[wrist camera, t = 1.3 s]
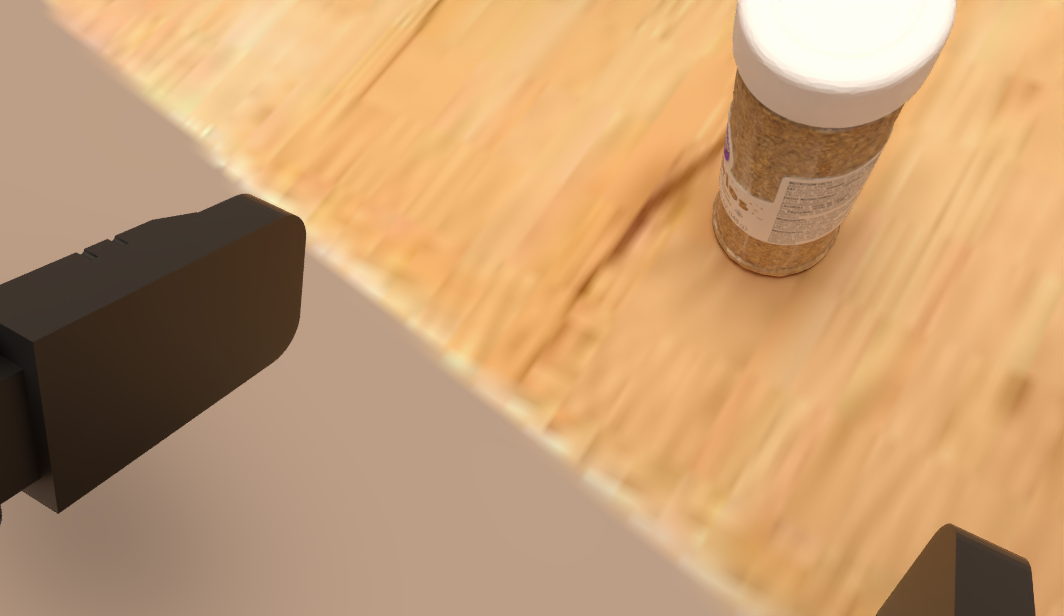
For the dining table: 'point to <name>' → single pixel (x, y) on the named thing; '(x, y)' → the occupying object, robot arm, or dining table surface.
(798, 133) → the sprinkles bottle
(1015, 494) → the dining table surface
